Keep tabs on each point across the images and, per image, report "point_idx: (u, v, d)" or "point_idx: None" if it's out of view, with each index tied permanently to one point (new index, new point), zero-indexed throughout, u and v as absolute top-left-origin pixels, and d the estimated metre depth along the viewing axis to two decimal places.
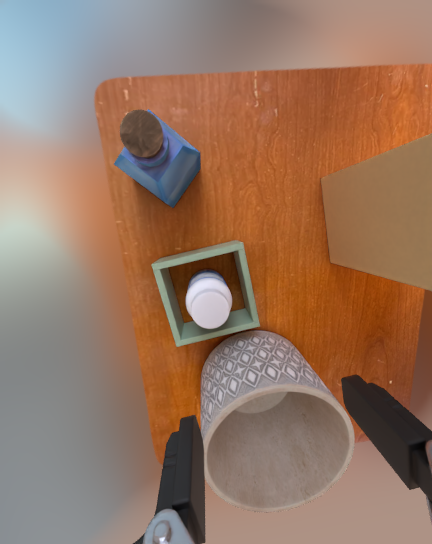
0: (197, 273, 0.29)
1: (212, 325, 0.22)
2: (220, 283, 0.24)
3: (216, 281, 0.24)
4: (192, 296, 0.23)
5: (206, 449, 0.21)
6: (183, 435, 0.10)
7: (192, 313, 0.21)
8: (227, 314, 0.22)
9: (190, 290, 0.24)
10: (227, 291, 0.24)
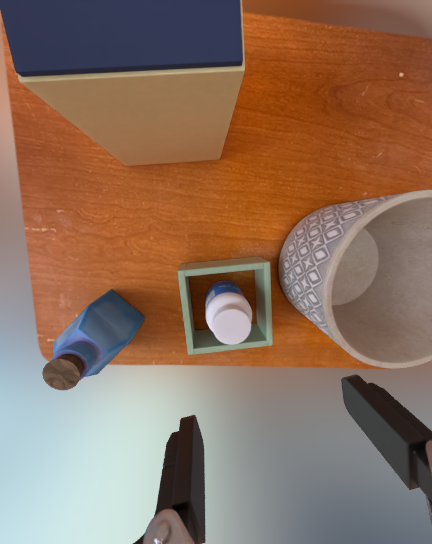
0: None
1: (247, 327, 0.22)
2: (211, 304, 0.24)
3: (209, 307, 0.24)
4: None
5: (376, 362, 0.20)
6: (183, 435, 0.10)
7: (231, 343, 0.22)
8: (239, 312, 0.21)
9: (214, 332, 0.24)
10: (221, 299, 0.24)
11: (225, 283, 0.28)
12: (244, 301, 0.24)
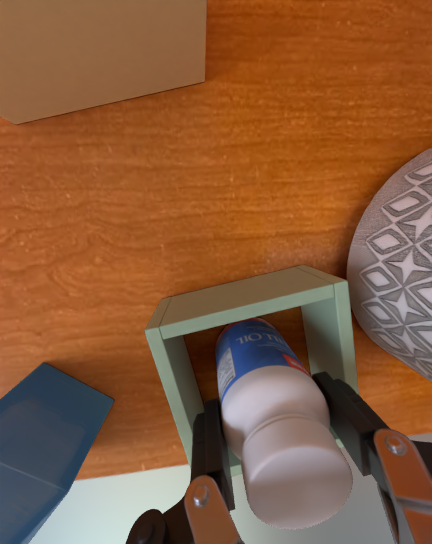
0: None
1: (344, 483, 0.08)
2: (232, 406, 0.10)
3: (227, 413, 0.10)
4: None
5: None
6: (209, 415, 0.10)
7: (302, 526, 0.08)
8: (317, 451, 0.07)
9: None
10: (253, 392, 0.10)
11: (250, 328, 0.15)
12: (310, 388, 0.10)
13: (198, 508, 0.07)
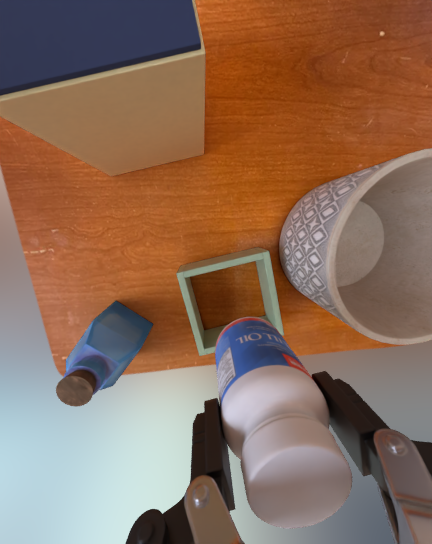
0: None
1: (343, 482, 0.08)
2: (232, 405, 0.10)
3: (227, 412, 0.10)
4: None
5: (393, 339, 0.19)
6: (209, 415, 0.10)
7: (302, 525, 0.08)
8: (317, 450, 0.07)
9: None
10: (253, 392, 0.10)
11: (250, 328, 0.15)
12: (309, 388, 0.10)
13: (198, 508, 0.07)
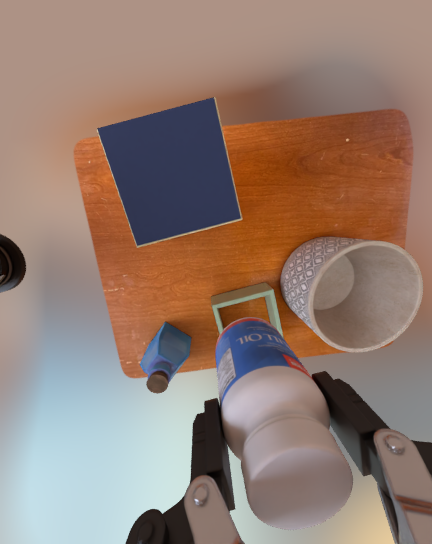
0: None
1: (344, 484, 0.08)
2: (232, 406, 0.10)
3: (227, 413, 0.10)
4: None
5: (351, 349, 0.31)
6: (209, 415, 0.10)
7: (302, 526, 0.08)
8: (317, 452, 0.07)
9: None
10: (253, 393, 0.10)
11: (250, 328, 0.15)
12: (310, 389, 0.10)
13: (198, 508, 0.07)
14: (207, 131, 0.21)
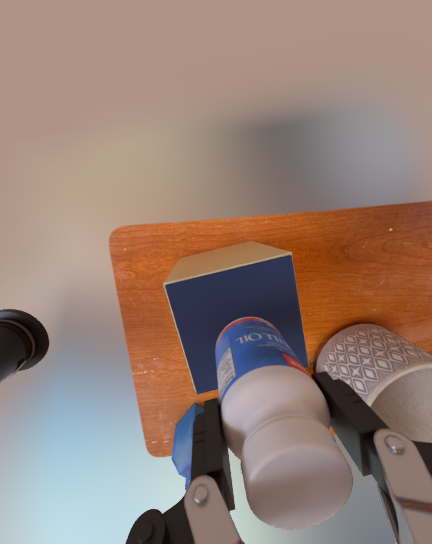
0: None
1: (344, 484, 0.08)
2: (232, 406, 0.10)
3: (227, 413, 0.10)
4: None
5: None
6: (209, 415, 0.10)
7: (302, 526, 0.08)
8: (317, 451, 0.07)
9: None
10: (253, 392, 0.10)
11: (250, 328, 0.14)
12: (310, 388, 0.10)
13: (198, 508, 0.07)
14: (281, 287, 0.19)
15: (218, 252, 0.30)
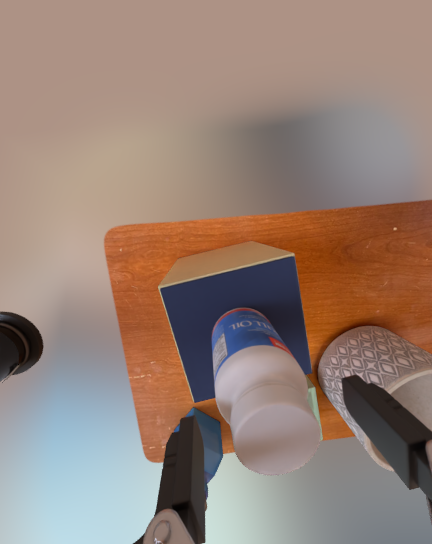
0: None
1: (313, 436, 0.10)
2: (224, 378, 0.12)
3: (219, 385, 0.12)
4: None
5: None
6: (183, 435, 0.10)
7: (280, 472, 0.10)
8: (290, 408, 0.09)
9: None
10: (241, 366, 0.11)
11: (242, 317, 0.16)
12: (290, 363, 0.12)
13: None
14: (284, 290, 0.18)
15: (217, 253, 0.29)
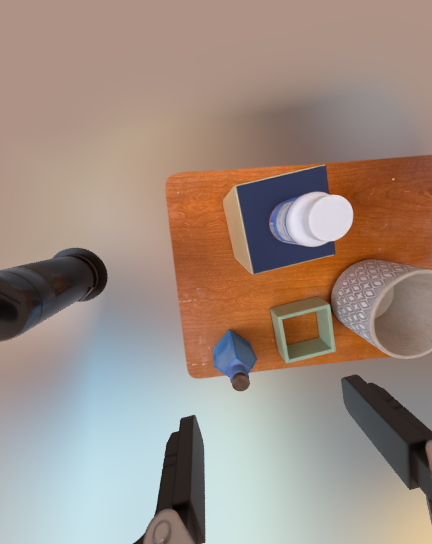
0: (275, 232, 0.26)
1: (349, 216, 0.18)
2: (295, 206, 0.21)
3: (292, 211, 0.21)
4: (307, 239, 0.21)
5: (401, 356, 0.38)
6: (183, 435, 0.10)
7: (331, 239, 0.19)
8: (338, 197, 0.18)
9: (300, 241, 0.21)
10: (306, 197, 0.20)
11: None
12: None
13: None
14: (318, 189, 0.27)
15: None
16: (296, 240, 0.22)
